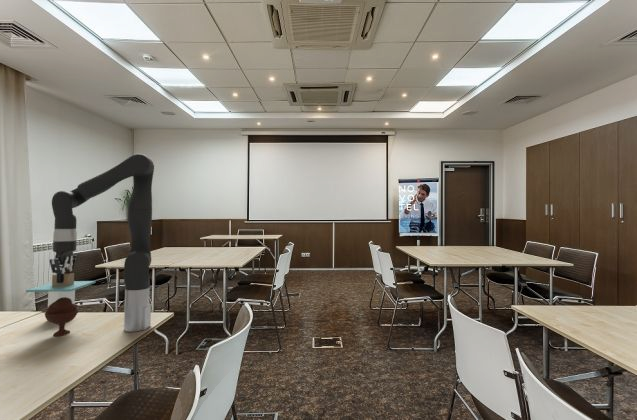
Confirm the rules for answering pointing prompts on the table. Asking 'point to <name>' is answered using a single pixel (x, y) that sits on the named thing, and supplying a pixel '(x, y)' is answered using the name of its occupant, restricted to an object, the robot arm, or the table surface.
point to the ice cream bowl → (61, 314)
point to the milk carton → (60, 296)
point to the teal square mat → (61, 284)
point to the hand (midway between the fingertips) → (63, 281)
